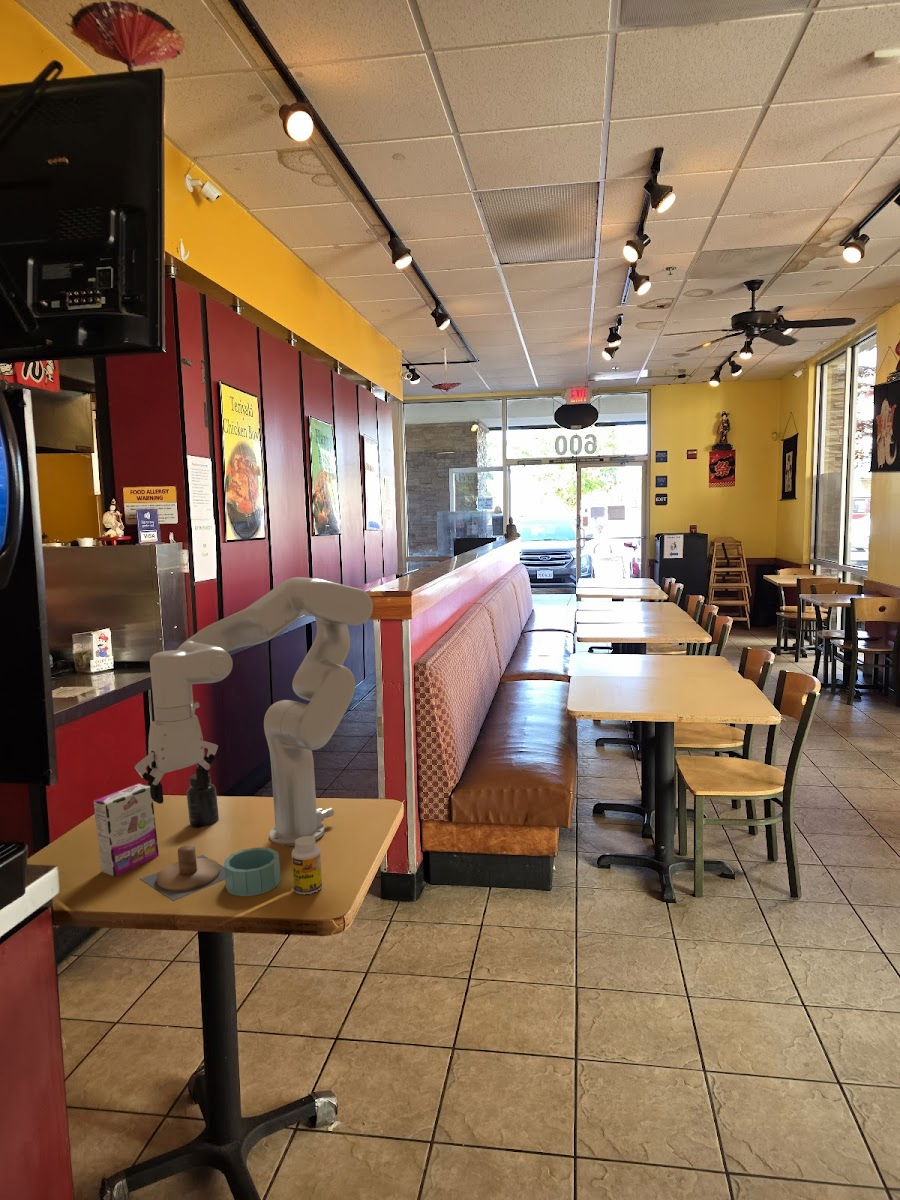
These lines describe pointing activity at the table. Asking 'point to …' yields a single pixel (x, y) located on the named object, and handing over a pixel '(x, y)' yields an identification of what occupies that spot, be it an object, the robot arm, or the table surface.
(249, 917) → the table surface
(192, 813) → the supplement bottle
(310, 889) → the supplement bottle
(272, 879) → the bowl
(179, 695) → the robot arm
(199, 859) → the lid
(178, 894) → the mat
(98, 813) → the candy bar box
